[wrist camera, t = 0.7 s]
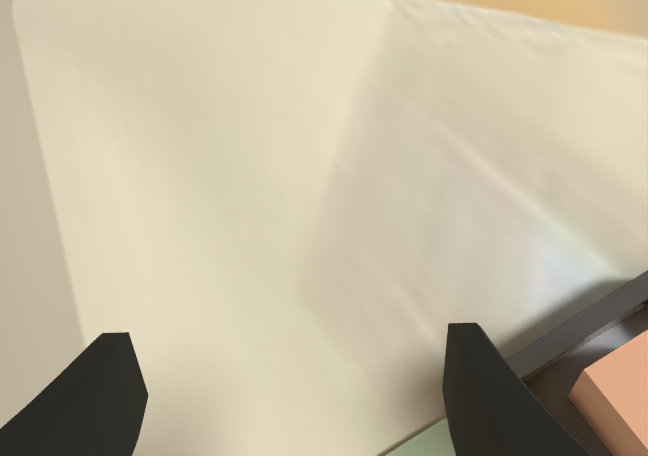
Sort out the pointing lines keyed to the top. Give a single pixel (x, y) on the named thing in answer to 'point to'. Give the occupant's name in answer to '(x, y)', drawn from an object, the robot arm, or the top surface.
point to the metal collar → (581, 328)
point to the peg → (617, 398)
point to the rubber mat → (428, 442)
